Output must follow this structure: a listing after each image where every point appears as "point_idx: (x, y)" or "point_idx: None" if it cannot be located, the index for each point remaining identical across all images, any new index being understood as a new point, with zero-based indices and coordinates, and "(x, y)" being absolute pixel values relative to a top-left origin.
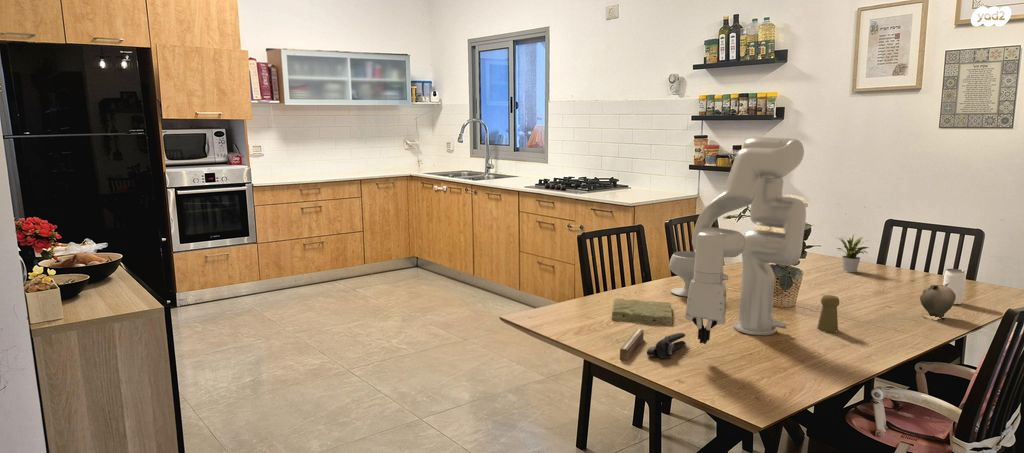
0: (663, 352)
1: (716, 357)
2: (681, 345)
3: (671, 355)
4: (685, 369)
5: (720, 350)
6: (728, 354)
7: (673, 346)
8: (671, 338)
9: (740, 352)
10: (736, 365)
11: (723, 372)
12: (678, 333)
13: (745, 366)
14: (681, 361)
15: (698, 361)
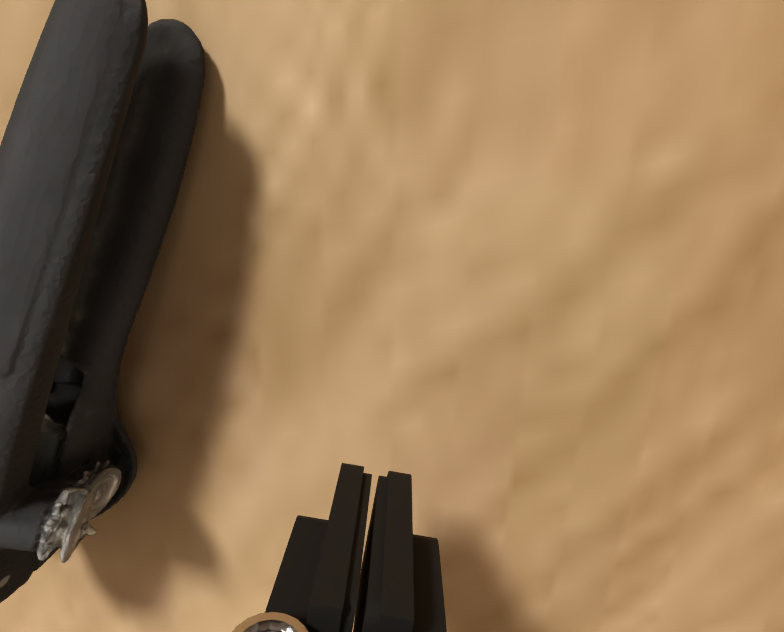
0: (47, 559)
1: (499, 344)
2: (168, 202)
3: (128, 468)
4: None
5: (560, 138)
6: (622, 237)
7: (95, 361)
8: (6, 430)
9: (760, 143)
10: (640, 479)
11: (519, 617)
12: (40, 129)
13: (708, 483)
14: (224, 493)
15: None
